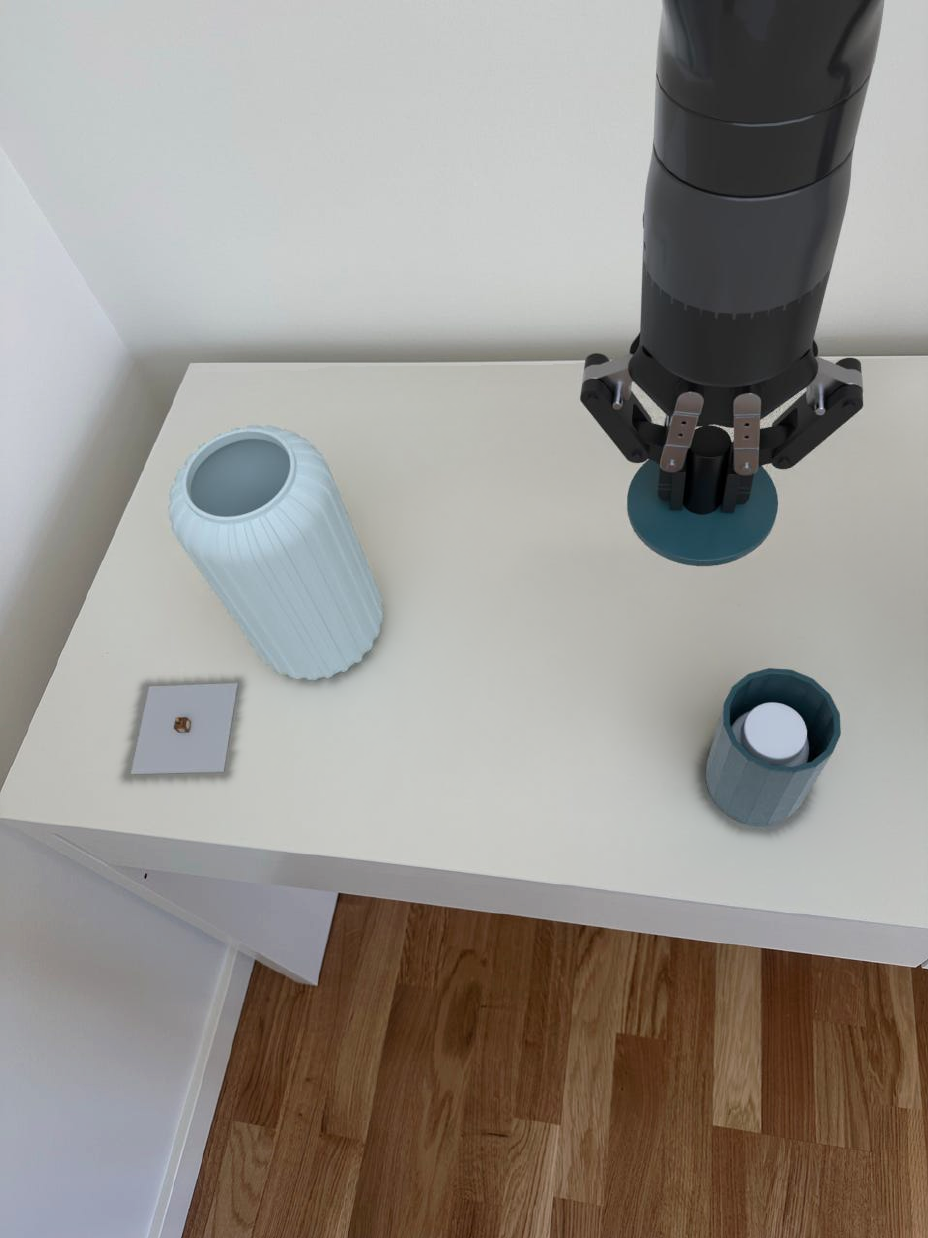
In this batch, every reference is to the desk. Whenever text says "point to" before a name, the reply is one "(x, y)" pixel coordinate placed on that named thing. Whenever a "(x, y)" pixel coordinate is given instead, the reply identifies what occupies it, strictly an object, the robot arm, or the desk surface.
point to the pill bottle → (773, 734)
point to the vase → (278, 549)
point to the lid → (702, 507)
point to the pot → (753, 783)
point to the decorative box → (185, 729)
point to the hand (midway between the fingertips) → (702, 497)
